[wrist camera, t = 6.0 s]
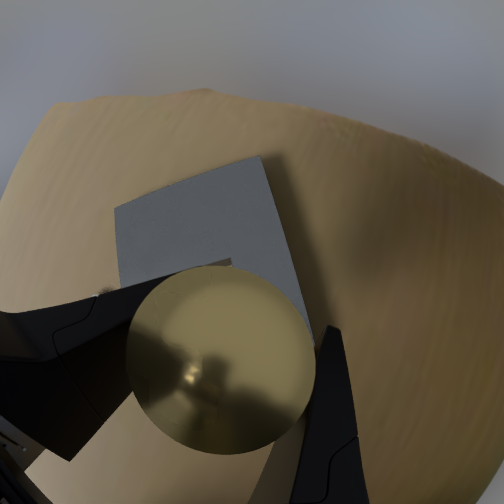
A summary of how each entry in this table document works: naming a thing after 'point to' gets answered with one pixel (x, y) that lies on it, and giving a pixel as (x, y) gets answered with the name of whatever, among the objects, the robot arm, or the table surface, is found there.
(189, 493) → the table surface
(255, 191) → the slot plate
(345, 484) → the robot arm
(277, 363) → the pin
